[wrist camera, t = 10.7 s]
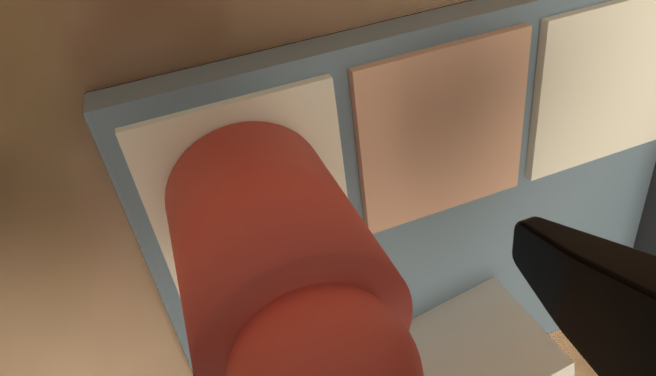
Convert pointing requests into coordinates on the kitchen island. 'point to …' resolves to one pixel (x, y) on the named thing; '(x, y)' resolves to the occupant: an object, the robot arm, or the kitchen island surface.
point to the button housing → (648, 221)
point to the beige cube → (486, 338)
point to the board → (422, 133)
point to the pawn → (280, 264)
